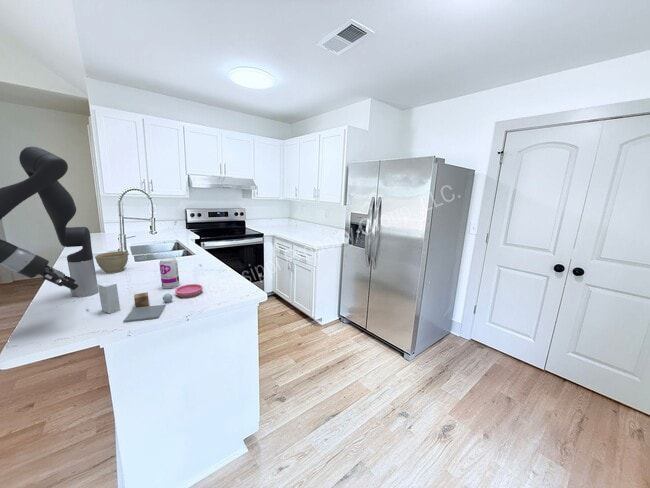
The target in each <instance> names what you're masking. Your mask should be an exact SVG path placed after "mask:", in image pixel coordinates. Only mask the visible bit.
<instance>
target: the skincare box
mask: <svg viewBox="0 0 650 488" xmlns="http://www.w3.org/2000/svg"><path fill="white" fill-rule="evenodd" d="M97 284H98V283H97ZM118 291H119V290H118V285H117V283H114V282H111V281H106V282H103V283H99V284H98V293H99V300H100V301H99V302H100V307H101V311H102V312H105V313H108V314H112V313H115V312H118V311H120V310H121V305H120V298H119V293H118Z"/></svg>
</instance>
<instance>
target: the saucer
mask: <svg viewBox="0 0 650 488" xmlns="http://www.w3.org/2000/svg"><path fill="white" fill-rule="evenodd" d="M203 288H204V287H203V285H201V284H198V283H190V284H189V283H188V284H184V285H183V284H182V285H179V286H177V287H175V290H174V292H175V294H176V295H177V296H179V297H180V298H192V297H195V296H198V295H199V294H200V292H202V291H203Z"/></svg>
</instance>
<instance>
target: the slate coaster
mask: <svg viewBox="0 0 650 488" xmlns="http://www.w3.org/2000/svg"><path fill="white" fill-rule="evenodd" d="M165 308H166V304H160V305H159V304H157V305H149V306H147V307H137V308H135V307H133V308H132V309H131V311H130V312H129V313H128V315H127V316H126V317H124V320H123V323H130V322H131V323H132V322H140V321H147V320H149V321H150V320H156V319H159V318H160V317H161V315H162V313H163V312H164V310H165Z"/></svg>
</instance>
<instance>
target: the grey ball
mask: <svg viewBox="0 0 650 488" xmlns="http://www.w3.org/2000/svg"><path fill="white" fill-rule="evenodd" d="M173 297H174V296H173V295H172V294H171V293H165V294H164V295H163V296H162V301H163V302H164V303H170V302H172V300H173Z"/></svg>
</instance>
